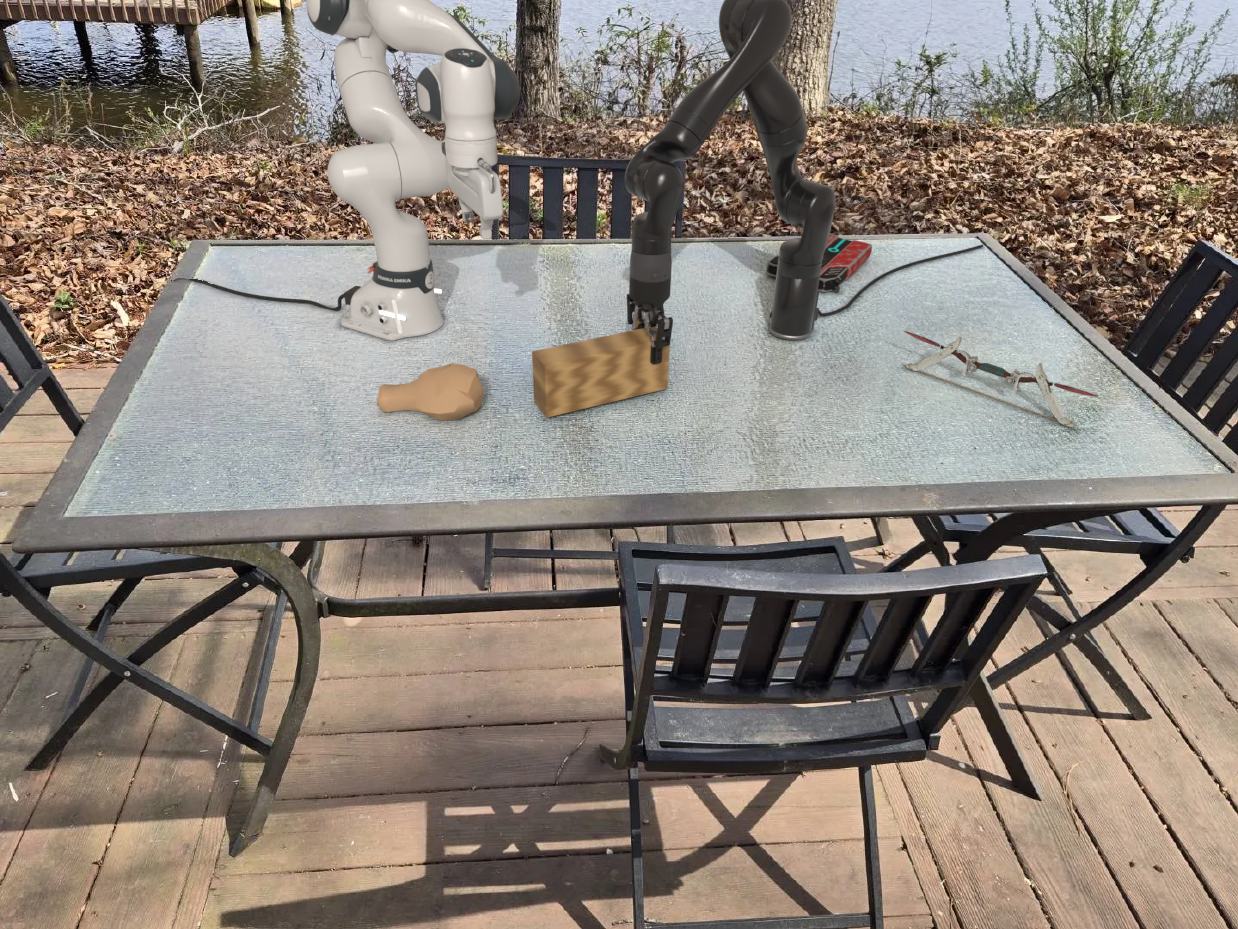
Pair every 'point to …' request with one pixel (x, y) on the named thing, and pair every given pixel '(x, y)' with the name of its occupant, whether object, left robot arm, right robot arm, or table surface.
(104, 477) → the table surface
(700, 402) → the table surface
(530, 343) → the table surface
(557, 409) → the box
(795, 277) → the right robot arm
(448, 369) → the squash
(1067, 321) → the table surface
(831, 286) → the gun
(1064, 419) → the bow
